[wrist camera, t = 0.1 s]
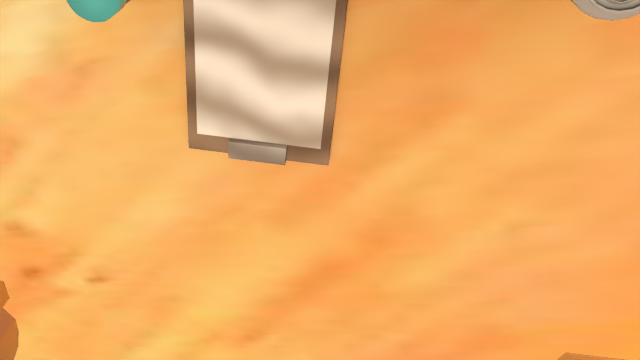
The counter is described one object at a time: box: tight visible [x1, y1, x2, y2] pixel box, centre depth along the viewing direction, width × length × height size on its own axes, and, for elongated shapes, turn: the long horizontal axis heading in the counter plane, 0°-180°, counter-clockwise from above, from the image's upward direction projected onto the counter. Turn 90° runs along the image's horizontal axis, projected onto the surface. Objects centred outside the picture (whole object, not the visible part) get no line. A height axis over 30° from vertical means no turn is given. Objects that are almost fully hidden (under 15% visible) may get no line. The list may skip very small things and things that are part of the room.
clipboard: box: [183, 0, 348, 165], centre depth 57 cm, size 22×15×2 cm
